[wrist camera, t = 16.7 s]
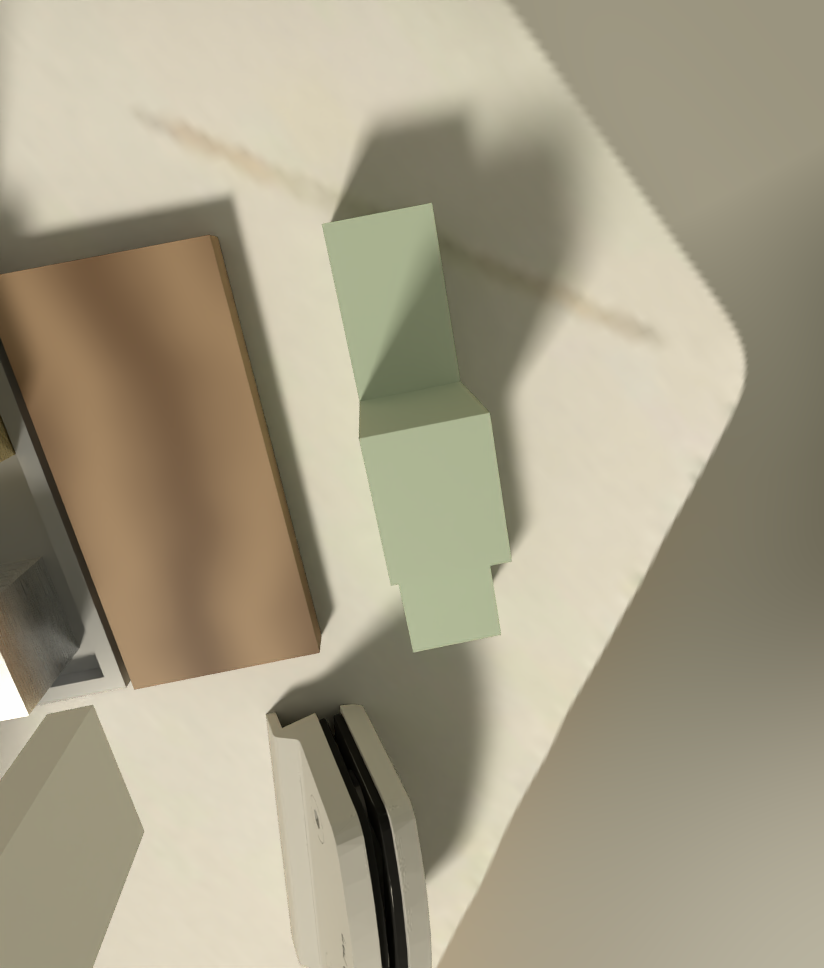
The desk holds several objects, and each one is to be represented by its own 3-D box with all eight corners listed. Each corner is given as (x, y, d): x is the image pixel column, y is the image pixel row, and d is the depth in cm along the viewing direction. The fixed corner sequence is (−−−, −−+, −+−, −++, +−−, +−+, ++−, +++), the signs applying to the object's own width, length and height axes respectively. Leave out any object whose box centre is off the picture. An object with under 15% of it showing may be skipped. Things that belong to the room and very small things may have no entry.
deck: (144, 671, 32) (134, 689, 31) (-1, 278, 26) (-22, 278, 25) (321, 636, 32) (319, 652, 31) (217, 236, 26) (209, 234, 25)
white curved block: (264, 707, 33) (319, 858, 25) (351, 683, 35) (430, 816, 26) (292, 942, 38) (345, 1135, 30) (366, 910, 40) (436, 1084, 32)
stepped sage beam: (407, 608, 32) (426, 746, 23) (327, 231, 27) (308, 206, 17) (484, 592, 32) (535, 723, 23) (421, 213, 27) (455, 178, 17)
